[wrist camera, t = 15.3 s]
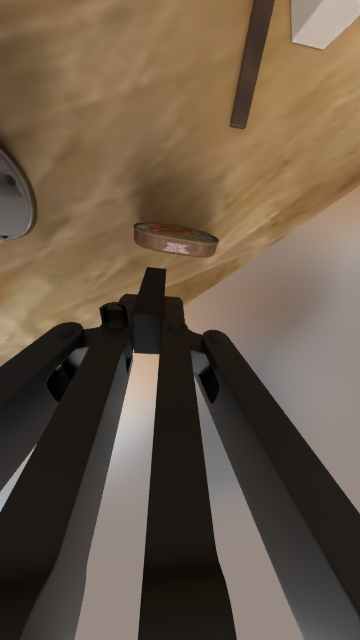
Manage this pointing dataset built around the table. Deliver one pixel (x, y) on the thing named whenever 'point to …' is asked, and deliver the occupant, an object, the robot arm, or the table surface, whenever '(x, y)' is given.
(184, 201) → the table surface
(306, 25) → the jar
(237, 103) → the serving spoon
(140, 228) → the tin
